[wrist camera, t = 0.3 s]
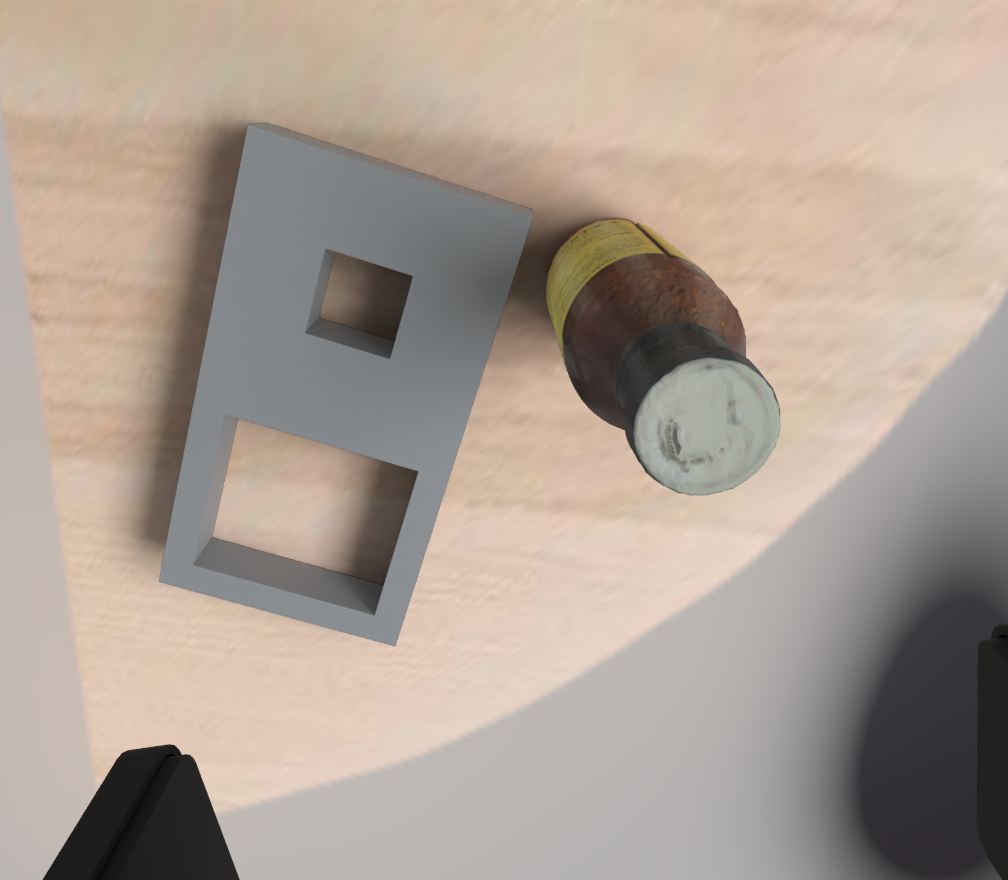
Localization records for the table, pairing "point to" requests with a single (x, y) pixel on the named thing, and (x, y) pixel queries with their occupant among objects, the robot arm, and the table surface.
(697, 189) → the table surface
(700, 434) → the sauce bottle
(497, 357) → the table surface
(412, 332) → the caddy
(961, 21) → the table surface
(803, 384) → the table surface
